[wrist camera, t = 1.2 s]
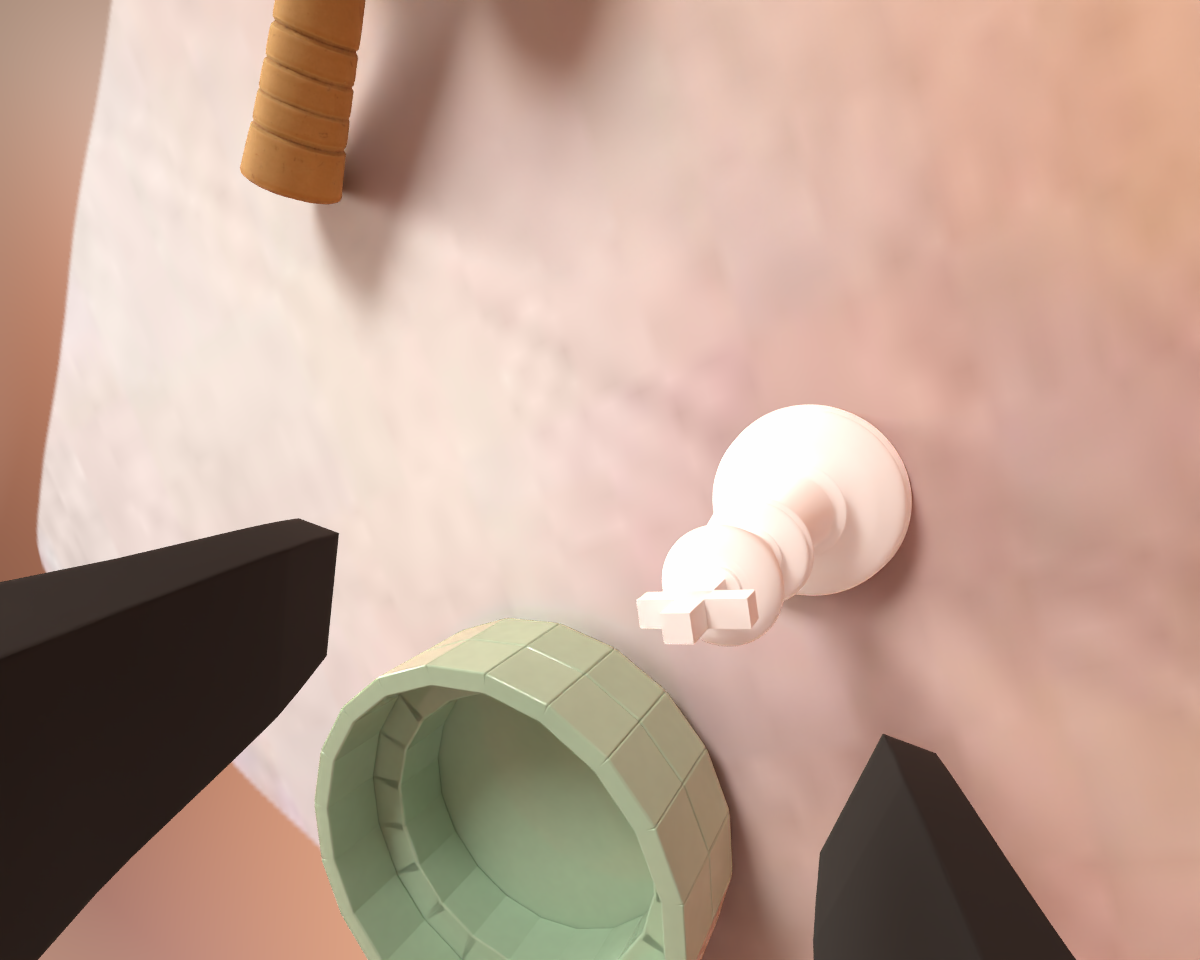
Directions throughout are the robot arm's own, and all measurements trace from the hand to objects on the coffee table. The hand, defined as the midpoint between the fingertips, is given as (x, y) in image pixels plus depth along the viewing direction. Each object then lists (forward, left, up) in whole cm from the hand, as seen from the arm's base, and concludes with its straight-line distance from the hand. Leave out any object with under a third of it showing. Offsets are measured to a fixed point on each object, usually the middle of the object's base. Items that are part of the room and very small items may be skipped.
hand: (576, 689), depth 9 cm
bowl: (0, +12, -11) cm, 17 cm away
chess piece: (-1, -1, -11) cm, 12 cm away
